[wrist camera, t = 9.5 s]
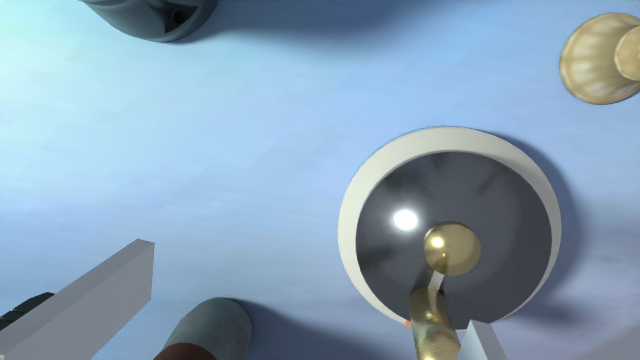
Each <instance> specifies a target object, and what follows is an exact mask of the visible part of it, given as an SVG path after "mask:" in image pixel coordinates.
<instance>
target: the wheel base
mask: <svg viewBox="0 0 640 360" xmlns="http://www.w3.org/2000/svg"><path fill="white" fill-rule="evenodd" d="M438 150H464V151H470V152H475V153H479V154H482V155H485V156H487V157H490V158H492V159H494V160H496V161H498V162H500V163H502V164H504V165H506V166H508V167H510V168H511V169H513V170H514V171H515V172H517V173H518V174H520V175H521V176H522V177H523V178H524V179H525V180H526V181H527V182H528V183H529V184H530V185H531V186H532V187H533V189H534V190H535V191H536V192H537V194H538V195H539V197H540V199H541V200H542V202H543V204H544V206H545V209H546V211H547V214H548V216H549V221H550V225H551V233H552V247H551V255H550V259H549V263H548V266H547V269H546V271H545V274H544V276H543V278H542V280H541V281H540V283H539V285H538V287H537V288H536V289H535V290H534V292H533V293H532V294H531V296H530V297H529V298H528V299H527V300H526V301H525V302H524V303H523V304H522V305H520V306H519V307H518V308H517V309H515V310H514V311H513V312H511V313H510V314H508V315H506V316H504V317H503V318H501V319H499V320H496V321H494V322H492V323H490V324H493V323H495V322H498V321H500V320H502V319H504V318H506V317H508V316H509V315H511V314H512V313H514V312H515V311H517V310H518V309H520V308H521V307H522V306H524V305H525V304H526V303H527V302H528V301H529V300H531V299H532V297H533V296H534V295H535V294H536V293H537V292H538V291H539V290H540V289H541V287H542V286H543V284H544V283H545V281H546V280H547V278H548V277H549V275H550V273H551V271H552V269H553V267H554V265H555V262H556V259H557V256H558V253H559V248H560V243H561V234H562V221H561V214H560V208H559V204H558V201H557V197H556V195H555V192H554V190H553V188H552V186H551V184H550V182H549V180H548V179H547V177H546V176H545V174H544V173H543V171H542V170H541V169H540V168H539V167H538V165H537V164H536V163H535V162H534V161H533V160H532V159H531V158H530V157H529V156H527V155H526V154H525V153H524V152H523V151H522V150H520V149H519V148H517V147H515V146H514V145H512V144H511V143H509V142H507V141H505V140H503V139H501V138H498V137H496V136H494V135H491V134H487V133H484V132H481V131H478V130H474V129H471V128H465V127H458V126H435V127H427V128H422V129H418V130H414V131H411V132H408V133H405V134H403V135H400V136H398V137H396V138H394V139H392V140H390V141H389V142H387V143H386V144H384V145H383V146H381V147H380V148H378V149H377V150H376V151H375V152H374V153H373V154H371V155H370V156H369V157H368V158H367V159H366V160H365V161H364V163H363V164H362V165H361V166H360V167H359V169H358V170H357V172H356V173H355V175H354V176H353V178H352V180H351V182H350V184H349V186H348V188H347V190H346V193H345V196H344V199H343V203H342V206H341V209H340V215H339V220H338V243H339V250H340V254H341V258H342V261H343V264H344V266H345V269H346V271H347V273H348V275H349V277H350V279H351V281H352V282H353V284H354V285H355V287H356V288H357V289H358V291H359V292H360V293H361V294H362V295H363V296H364V297H365V298H366V300H367V301H368V302H369V303H371V304H372V305H373V306H374V307H375V308H377V309H378V310H379V311H381V312H382V313H384V314H385V315H387V316H389V317H390V318H392V319H394V320H396V321H398V322H401V323H403V324H404V327H407V328H410V329H412V325H411V322H410V321H408V320H406V319H404V318H402V317H400V316H398V315H397V314H395V313H394V312H392V311H391V310H390V309H388V308H387V307H386V306H385V305H384V304H383V303H381V302H380V301H379V300H378V298H377V297H376V296H375V295H374V294H373V293H372V291H371V290H370V288H369V287H368V285H367V284H366V282H365V280H364V278H363V276H362V273H361V271H360V268H359V265H358V261H357V255H356V244H355V238H356V229H357V222H358V218H359V214H360V210H361V208H362V205H363V203H364V201H365V199H366V197H367V195H368V194H369V192H370V190H371V189H372V188H373V186H374V185H375V184H376V183H377V181H378V180H379V179H380V178H381V177H382V176H383V175H384V174H385V173H387V172H388V171H389V170H391V169H392V168H393V167H395V166H396V165H398V164H400V163H401V162H403V161H405V160H407V159H409V158H412V157H414V156H416V155H420V154H423V153H427V152H431V151H438ZM455 331H456V332H459V331H467V329H463V330H455Z"/></svg>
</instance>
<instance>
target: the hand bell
mask: <svg viewBox="0 0 640 360" xmlns="http://www.w3.org/2000/svg"><path fill="white" fill-rule="evenodd" d="M559 68H560V75H561V78H562V81H563V84H564V85H565V87H566V88H567V90H568V91H569V92H570V93H571V94H572V95H573V96H574V97H576V98H578V99H579V100H581V101H584V102H587V103H591V104H599V105H601V104H611V103H615V102H618V101H621V100H623V99H625V98H627V97H629V96H631V95H632V94H634V93H635V92H636V91H637V90H639V89H640V19H638V18H636V17H634V16H632V15H628V14H624V13H607V14H603V15H599V16H597V17H594V18H592V19H590V20H588V21H586V22H585V23H583V24H582V25H581V26H579V27H578V28H577V29H576V30H575V31H574V32H573V33H572V34H571V36H570V37H569V38H568V40H567V41H566V43H565V45H564V47H563V50H562V53H561V57H560V66H559Z"/></svg>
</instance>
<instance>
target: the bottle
mask: <svg viewBox="0 0 640 360" xmlns="http://www.w3.org/2000/svg"><path fill="white" fill-rule="evenodd" d="M252 337H253V327H252V321H251V319H250V317H249V315H248V313H247V312H246V311H245V309H244V308H243V307H242V306H241V305H239V304H238V303H236V302H235V301H233V300H230V299H226V298H213V299H209V300H206V301H205V302H203V303H201V304H199V305H198V306H197V307H195V308H194V309H193V310H192V311H190V312H189V313H188V314H187V315H186V316H184V317H183V318H182V319H181V320H180V322H179V323H178V325H177V326H176V328H175V329H174V331H173V332H172V334H171V336H170V337H169V339H168V341H167V342H166V344H165V346H164V348H163V349H162V351H161V352H160V353H159V354H158V355H157V356H156V357H155V358H154V359H153V360H247V357H248V353H249V350H250V347H251V342H252Z"/></svg>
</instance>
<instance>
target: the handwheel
mask: <svg viewBox="0 0 640 360" xmlns="http://www.w3.org/2000/svg"><path fill="white" fill-rule="evenodd" d="M355 244H356V255H357V261H358V265H359V268H360V271H361V273H362V276H363V278H364V280H365V282H366V284H367V285H368V287H369V288H370V290H371V291H372V293H373V294H374V295H375V296H376V297H377V298H378V300H379V301H380V302H381V303H383V304H384V305H385V306H386V307H387V308H388V309H390V310H391V311H392V312H394V313H395V314H397V315H398V316H400V317H402V318H404V319H406V320H408V321H410V322H411V325H412V331H413V337H414V343H415V349H416V355H417V360H456V359H457V356H458V353H459V350H460V347H461V345H460V342H459V339H458V336H457V333H456V331H455V330H463V329H467V328H468V325H469V322H470V319H471V320H475V321H479V322H483V323H487V324H490V323H492V322H494V321H496V320H499V319H501V318H503V317H504V316H506V315H508V314H510V313H511V312H513V311H514V310H515V309H517V308H518V307H519V306H520V305H522V304H523V303H524V302H525V301H526V300H527V299H528V298H529V297H530V296H531V294H532V293H533V292H534V290H535V289H536V288H537V287H538V285H539V283H540V281H541V280H542V278H543V276H544V274H545V271H546V269H547V266H548V263H549V259H550V255H551V247H552V233H551V225H550V221H549V216H548V214H547V211H546V209H545V206H544V204H543V202H542V200H541V199H540V197H539V195H538V194H537V192H536V191H535V190H534V189H533V187H532V186H531V185H530V184H529V183H528V182H527V181H526V180H525V179H524V178H523V177H522V176H521V175H520V174H518V173H517V172H515V171H514V170H513V169H511V168H510V167H508V166H506V165H504V164H502V163H500V162H498V161H496V160H494V159H492V158H490V157H487V156H485V155H482V154H479V153H475V152H470V151H464V150H438V151H431V152H427V153H423V154H420V155H416V156H414V157H412V158H409V159H407V160H405V161H403V162H401V163H400V164H398V165H396V166H395V167H393V168H392V169H391V170H389V171H388V172H387V173H385V174H384V175H383V176H382V177H381V178H380V179H379V180H378V181H377V183H376V184H375V185H374V186H373V188H372V189H371V190H370V192H369V194H368V195H367V197H366V199H365V201H364V203H363V205H362V208H361V210H360V214H359V218H358V222H357V229H356V238H355Z"/></svg>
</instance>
